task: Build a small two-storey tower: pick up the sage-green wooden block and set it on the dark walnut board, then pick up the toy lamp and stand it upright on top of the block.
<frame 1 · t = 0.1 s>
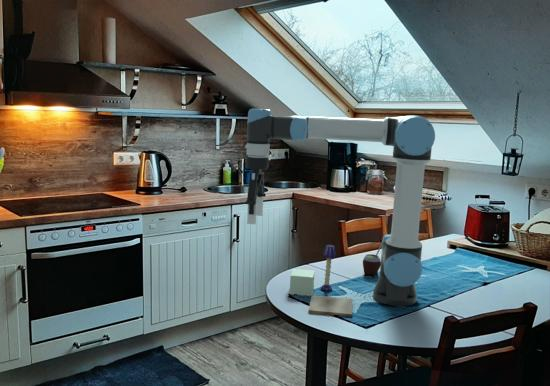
hand: (255, 219, 182), 28 cm above the table, fingers open, 13 cm apart
mate gourd: (371, 275, 219), on the table
walnut board: (330, 307, 183), on the table
sage block: (301, 291, 197), on the table
toy lamp: (327, 290, 200), on the table
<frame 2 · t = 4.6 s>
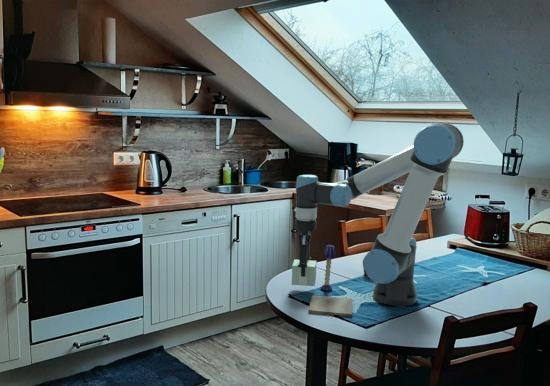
hand: (303, 280, 196), 4 cm above the table, fingers closed on sage block, 8 cm apart
sage block: (303, 282, 196), point 4 cm above the table, touching gripper
everything else where it was.
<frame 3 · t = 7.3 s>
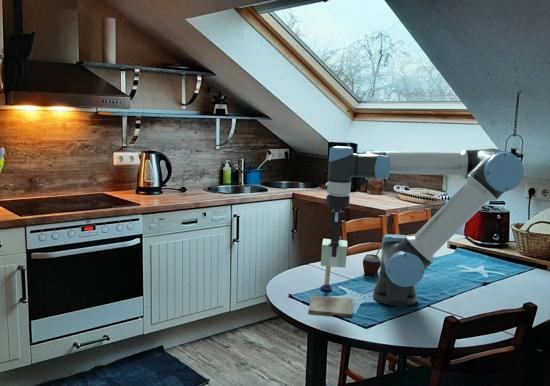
hand: (333, 261, 180), 16 cm above the table, fingers closed on sage block, 8 cm apart
sage block: (333, 263, 180), point 15 cm above the table, touching gripper
everything else where it was.
when the fingers open (2 cm above the table, at t = 10.1 s): sage block stays where it is, resting on walnut board.
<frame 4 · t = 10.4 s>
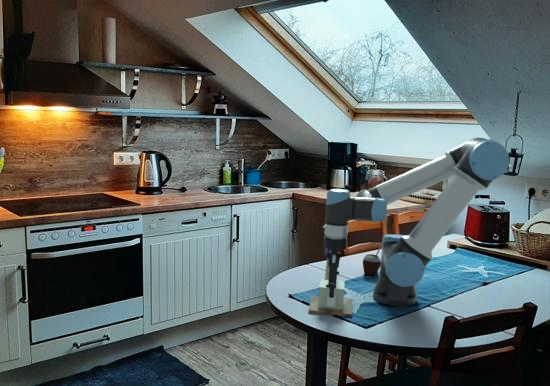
hand: (331, 299, 182), 3 cm above the table, fingers open, 11 cm apart
sage block: (331, 304, 183), point 1 cm above the table, touching walnut board
everything else where it was.
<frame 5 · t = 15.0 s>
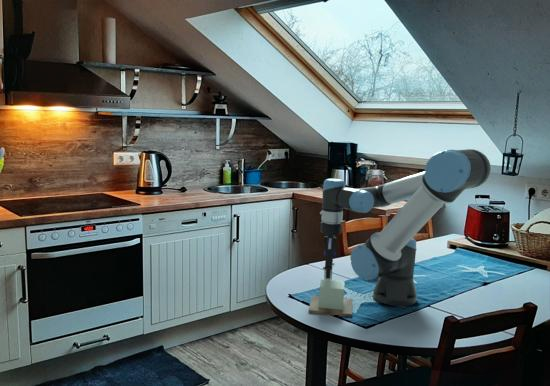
hand: (327, 284, 199), 2 cm above the table, fingers closed on toy lamp, 3 cm apart
toy lamp: (327, 290, 200), on the table, touching gripper
everything else where it was.
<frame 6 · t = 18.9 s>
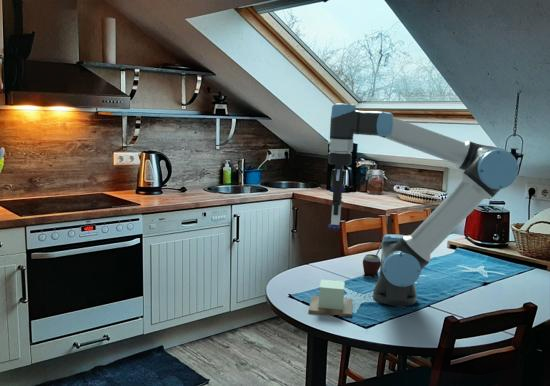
hand: (335, 223, 179), 29 cm above the table, fingers closed on toy lamp, 3 cm apart
toy lamp: (334, 229, 180), point 26 cm above the table, touching gripper
everything else where it was.
when the fingers open (11 cm above the table, at t = 22.5 s): toy lamp drops 1 cm, resting on sage block.
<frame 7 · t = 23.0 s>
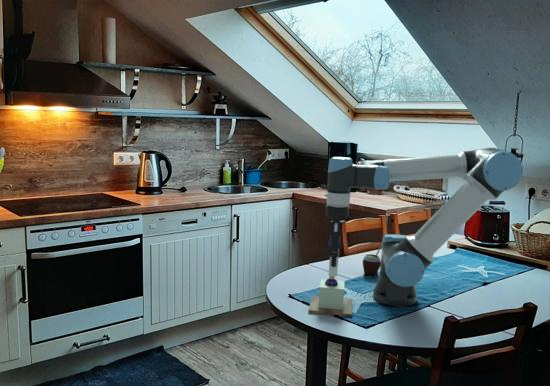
hand: (333, 270, 181), 13 cm above the table, fingers open, 10 cm apart
sage block: (331, 304, 183), point 1 cm above the table, touching toy lamp, walnut board
toy lamp: (332, 284, 182), point 8 cm above the table, touching sage block
everything else where it was.
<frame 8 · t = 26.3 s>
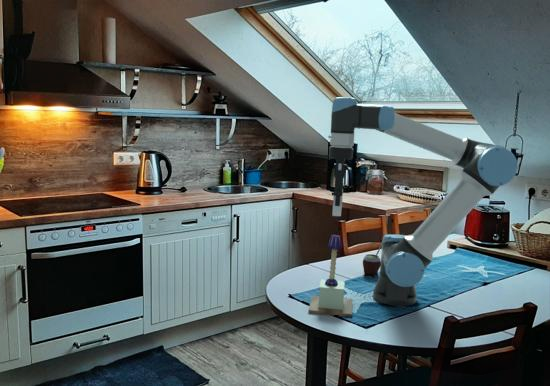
hand: (337, 211, 177), 33 cm above the table, fingers open, 13 cm apart
nothing on the table moved.
at the end: sage block 0.0 cm off-centre on the walnut board, point 1.0 cm above the walnut board's base; toy lamp 0.1 cm off-centre on the sage block, point 6.8 cm above the sage block's base; toy lamp tilted 0° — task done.
